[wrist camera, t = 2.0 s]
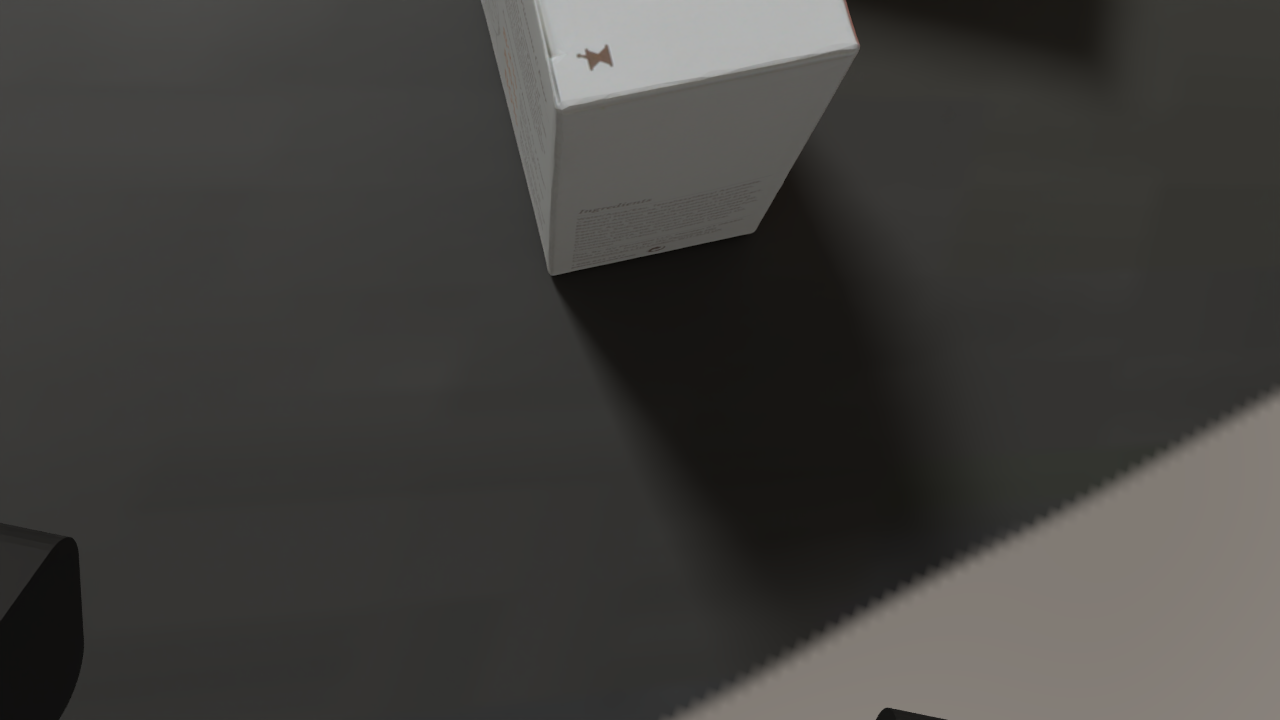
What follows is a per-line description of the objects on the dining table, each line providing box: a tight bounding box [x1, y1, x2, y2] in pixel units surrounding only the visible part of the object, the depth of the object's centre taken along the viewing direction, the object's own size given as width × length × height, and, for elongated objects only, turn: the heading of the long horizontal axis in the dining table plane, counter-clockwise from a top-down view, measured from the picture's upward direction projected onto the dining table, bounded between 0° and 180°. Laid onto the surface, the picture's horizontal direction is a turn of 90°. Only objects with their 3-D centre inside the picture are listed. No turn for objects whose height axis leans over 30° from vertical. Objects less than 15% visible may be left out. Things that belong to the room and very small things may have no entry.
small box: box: [481, 0, 860, 276], centre depth 26 cm, size 8×6×10 cm
